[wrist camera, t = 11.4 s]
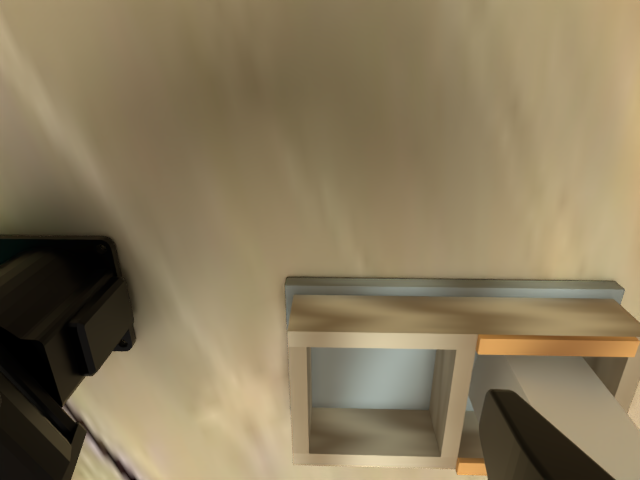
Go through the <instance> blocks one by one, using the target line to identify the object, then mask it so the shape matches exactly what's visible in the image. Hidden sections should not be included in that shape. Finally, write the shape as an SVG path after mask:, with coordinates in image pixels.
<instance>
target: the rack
mask: <svg viewBox="0 0 640 480" xmlns="http://www.w3.org/2000/svg"><path fill="white" fill-rule="evenodd" d="M624 291H625V289H624V288H623V287H621V286H620V285H619V284H618V283H617V282H615V281H546V280H459V279H372V278H287V279H286V283H285V297H286V319H287V342H288V364H289V387H290V409H291V429H292V451H293V465H317V466H355V467H393V468H430V469H456V472H457V475H487V472H486V467H485V462H484V457H483V452H482V447H481V442H480V437H479V423H478V420H477V417H476V415H475V412H474V409H473V407H472V404H471V401H470V399H469V396H468V393H469V387H470V381H471V375H472V369H473V367H474V364H475V361H476V358H477V356H478V355H534V356H582V357H583V358H584V360H585V361H586V362H587V364H588V365H589V366H590V367H591V369H592V370H593V371H594V372H595V374H596V375H597V376H598V377H599V379H600V380H601V381H602V383H603V384H604V385H605V386H606V388H607V389H608V390H609V391H610V393H611V394H612V395H613V397H614V398H615V399H616V400H617V402H618V403H619V404H620V405H621V407H622V408H623V409H624V411H625V412H626V413H628V411H629V408H630V405H631V402H632V400H633V397H634V394H635V392H636V389H637V386H638V383H639V381H640V323H639V322H638V321H637V320H636V319H635V318H634V317H633V316H632V315H631V314H630V313H629V312H627V311H626V310H625V309H624V308H623V307H622V306H621V305H620V304H621V301H622V298H623V295H624Z"/></svg>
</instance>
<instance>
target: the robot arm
mask: <svg viewBox="0 0 640 480" xmlns="http://www.w3.org/2000/svg"><path fill="white" fill-rule="evenodd" d="M100 244H101V245H104V246H105V247H106V250H103V249H102V248H101V247H100ZM133 322H134V318H133V314H132V309H131V304H130V300H129V295H128V290H127V285H126V281H125V280H124V279H123V277H122V275H121V270H120V265H119V261H118V256H117V251H116V247H115V244H114V242H113V241H112V240H111V239H110V238H108V237H104V236H13V235H0V480H71V478H72V475H73V472H74V469H75V466H76V463H77V460H78V457H79V454H80V451H81V448H82V445H83V442H84V439H85V436H86V433H87V430H86V429H85V428H84V427H83V426H82V425H81V424H80V423H79V422H74V420H73V419H72V418H71V417H70V416H69V415H68V414H67V413H66V412H65V411H64V410H63V409H62V407H63V405H64V404H65V403H66V401H67V400H68V399H69V397H70V396H71V395H72V394H73V392H74V391H75V390H76V388H77V387H78V386H79V384H80V383H81V382H82V380H83V379H84V378H85V376H93V375H94V374H95V373H96V372H97V371H98V370H99V369H100V367H101V366H102V365H103V363H104V362H105V360H106V359H107V358H108V356H109V355H110V354H111V352H112V351H129V350H130V349H131V348H132V347H133V345H134V343H135V335H134V331H133V326H132V324H133ZM122 340H125V341H126V342H127V343H125V342H123V341H122ZM479 437H480V442H481V447H482V452H483V457H484V462H485V467H486V472H487V477H488V480H616V479H615V478H613V477H612V476H611V475H610V474H609V473H608V472H607V471H605V470H604V469H603V468H602V467H601V466H600V465H599V464H597V463H596V462H595V461H594V460H593V459H592V458H590V457H589V456H588V455H587V454H586V453H585V452H584V451H582V450H581V449H580V448H579V447H578V446H577V445H576V444H574V443H573V442H572V441H571V440H570V439H569V438H567V437H566V436H565V435H564V434H563V433H562V432H561V431H559V430H558V429H557V428H556V427H555V426H554V425H553V424H551V423H550V422H549V421H548V420H547V419H546V418H545V417H543V416H542V415H541V414H540V413H539V412H538V411H536V410H535V409H534V408H533V407H532V406H531V405H530V404H528V403H527V402H526V401H525V400H524V399H523V398H522V397H520V396H519V395H518V394H517V393H516V392H514V391H512V390H509V389H489V390H488V391H487V392H486V395H485V399H484V403H483V408H482V412H481V417H480V421H479Z"/></svg>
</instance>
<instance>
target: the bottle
mask: <svg viewBox="0 0 640 480" xmlns="http://www.w3.org/2000/svg"><path fill="white" fill-rule="evenodd" d="M489 389H509V390H512V391H514V392H516V393H517V394H518V395H519V396H520V397H522V398H523V399H524V400H525V401H526V402H527V403H528V404H530V405H531V406H532V407H533V408H534V409H535V410H536V411H538V412H539V413H540V414H541V415H542V416H543V417H545V418H546V419H547V420H548V421H549V422H550V423H551V424H553V425H554V426H555V427H556V428H557V429H558V430H559V431H561V432H562V433H563V434H564V435H565V436H566V437H567V438H569V439H570V440H571V441H572V442H573V443H574V444H576V445H577V446H578V447H579V448H580V449H581V450H582V451H584V452H585V453H586V454H587V455H588V456H589V457H590V458H592V459H593V460H594V461H595V462H596V463H597V464H599V465H600V466H601V467H602V468H603V469H604V470H605V471H607V472H608V473H609V474H610V475H611V476H612V477H613V478H615V479H616V480H640V430H639V428H638V427H637V426H636V425H635V423H634V422H633V421H632V419H631V418H630V417H629V416H628V414H627V413H626V412H625V411H624V409H623V408H622V407H621V405H620V404H619V403H618V402H617V400H616V399H615V398H614V397H613V395H612V394H611V393H610V391H609V390H608V389H607V388H606V386H605V385H604V384H603V383H602V381H601V380H600V379H599V377H598V376H597V375H596V374H595V372H594V371H593V370H592V369H591V367H590V366H589V365H588V364H587V362H586V361H585V360H584V358H583V357H582V356H534V355H478V356H477V358H476V361H475V364H474V367H473V369H472V375H471V381H470V387H469V393H468V396H469V399H470V401H471V404H472V407H473V409H474V412H475V415H476V417H477V420H478V423H479V421H480V417H481V412H482V408H483V403H484V399H485V395H486V392H487V391H488V390H489Z"/></svg>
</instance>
